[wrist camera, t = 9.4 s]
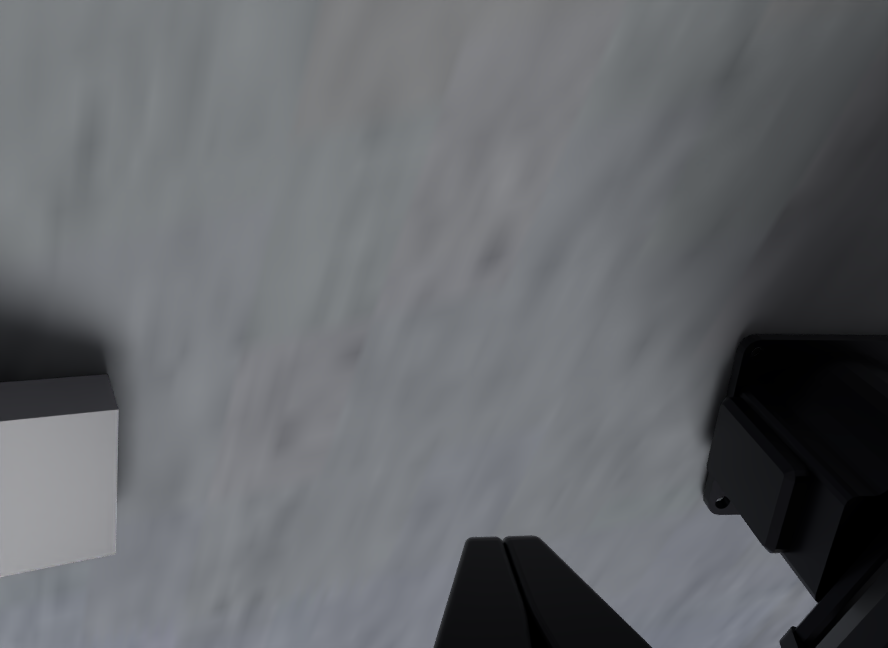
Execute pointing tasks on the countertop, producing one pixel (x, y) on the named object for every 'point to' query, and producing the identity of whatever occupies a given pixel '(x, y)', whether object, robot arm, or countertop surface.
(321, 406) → the countertop surface
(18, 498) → the domino
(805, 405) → the robot arm
